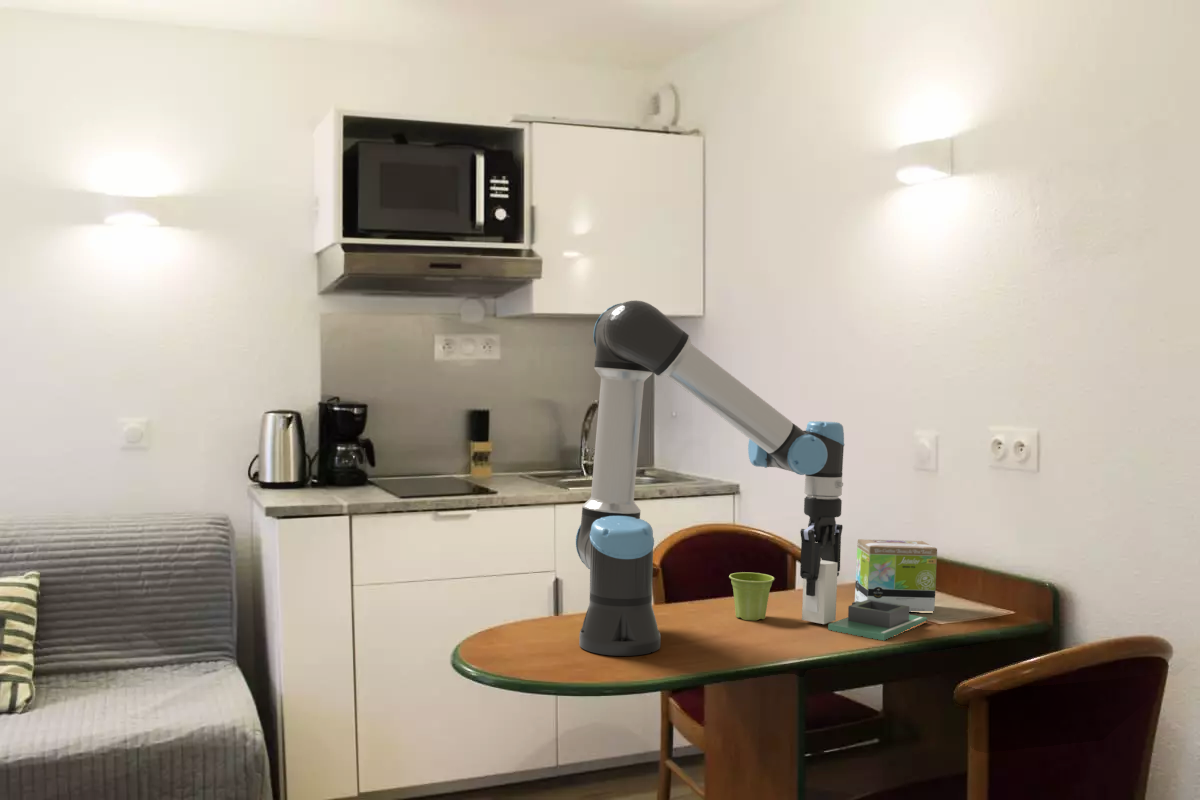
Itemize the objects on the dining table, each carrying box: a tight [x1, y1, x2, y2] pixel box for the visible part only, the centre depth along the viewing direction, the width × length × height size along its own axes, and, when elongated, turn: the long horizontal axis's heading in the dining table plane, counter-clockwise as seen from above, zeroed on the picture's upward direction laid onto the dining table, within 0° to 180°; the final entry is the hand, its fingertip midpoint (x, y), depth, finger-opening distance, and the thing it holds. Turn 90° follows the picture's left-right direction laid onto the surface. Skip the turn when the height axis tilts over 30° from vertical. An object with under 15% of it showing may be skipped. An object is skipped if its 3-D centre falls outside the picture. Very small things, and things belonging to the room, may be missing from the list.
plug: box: [801, 560, 838, 625], centre depth 216 cm, size 5×6×12 cm
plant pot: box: [728, 571, 775, 621], centre depth 220 cm, size 9×9×9 cm
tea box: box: [854, 538, 938, 612], centre depth 231 cm, size 15×10×15 cm, turn 92°
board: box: [827, 599, 928, 642], centre depth 214 cm, size 20×12×4 cm, turn 139°
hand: (819, 608), depth 216 cm, fingers closed on plug, 5 cm apart
